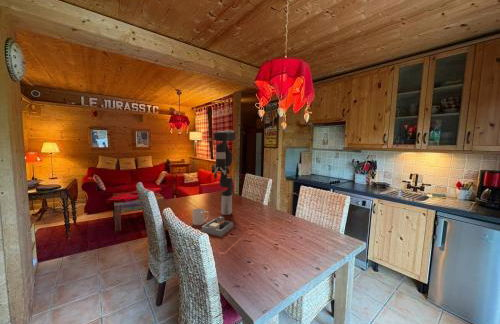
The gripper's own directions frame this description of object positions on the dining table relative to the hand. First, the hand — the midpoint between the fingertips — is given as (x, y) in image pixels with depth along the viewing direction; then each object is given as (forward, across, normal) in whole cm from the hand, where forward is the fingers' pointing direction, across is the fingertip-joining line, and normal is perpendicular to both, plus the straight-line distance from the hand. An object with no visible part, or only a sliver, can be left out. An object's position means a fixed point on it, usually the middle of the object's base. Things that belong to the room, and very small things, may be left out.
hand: (220, 179), depth 158 cm
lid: (+30, -5, +16) cm, 34 cm away
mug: (+36, +14, +6) cm, 39 cm away
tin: (+35, -5, +8) cm, 36 cm away
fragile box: (+35, -5, +16) cm, 39 cm away
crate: (+36, -5, +11) cm, 38 cm away
